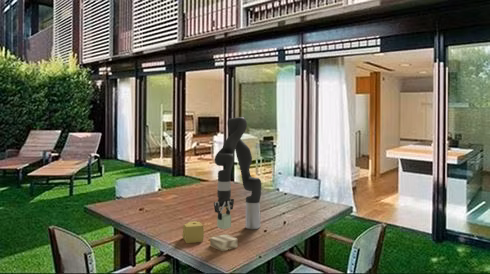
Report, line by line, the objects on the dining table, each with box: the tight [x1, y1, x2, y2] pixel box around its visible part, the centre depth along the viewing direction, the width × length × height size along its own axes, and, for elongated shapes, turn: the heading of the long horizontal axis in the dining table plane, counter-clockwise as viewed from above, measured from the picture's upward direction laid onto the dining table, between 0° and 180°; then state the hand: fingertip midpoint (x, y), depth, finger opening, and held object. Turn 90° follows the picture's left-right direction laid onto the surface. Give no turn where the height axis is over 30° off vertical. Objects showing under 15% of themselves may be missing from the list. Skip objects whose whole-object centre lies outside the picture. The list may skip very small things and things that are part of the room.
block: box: [216, 212, 232, 230], centre depth 218 cm, size 6×6×7 cm
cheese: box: [182, 220, 205, 244], centre depth 229 cm, size 10×11×10 cm
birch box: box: [209, 233, 238, 252], centre depth 219 cm, size 11×11×5 cm
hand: (223, 218), depth 218 cm, fingers closed on block, 5 cm apart
